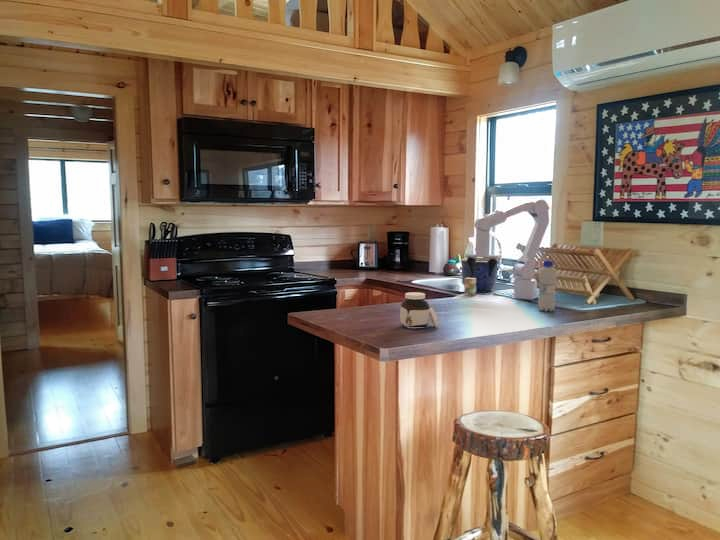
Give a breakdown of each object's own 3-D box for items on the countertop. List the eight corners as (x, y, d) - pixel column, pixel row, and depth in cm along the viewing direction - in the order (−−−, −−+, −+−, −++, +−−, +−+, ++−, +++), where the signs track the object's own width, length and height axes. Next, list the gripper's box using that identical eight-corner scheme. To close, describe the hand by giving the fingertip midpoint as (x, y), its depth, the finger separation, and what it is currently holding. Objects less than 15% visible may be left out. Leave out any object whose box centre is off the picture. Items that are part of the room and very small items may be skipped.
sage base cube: (476, 295, 262) (476, 286, 261) (473, 296, 258) (473, 287, 258) (467, 294, 264) (467, 286, 263) (464, 296, 260) (464, 287, 260)
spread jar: (396, 325, 201) (397, 292, 200) (421, 322, 208) (421, 289, 206) (419, 332, 191) (420, 297, 190) (444, 328, 198) (445, 294, 196)
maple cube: (476, 286, 261) (476, 278, 261) (472, 288, 258) (473, 279, 257) (467, 286, 263) (467, 277, 263) (464, 287, 260) (464, 278, 259)
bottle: (546, 312, 225) (548, 261, 223) (533, 309, 231) (535, 260, 228) (558, 311, 228) (561, 260, 226) (546, 308, 234) (548, 259, 232)
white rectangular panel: (506, 298, 258) (506, 296, 258) (495, 303, 244) (495, 302, 244) (463, 294, 268) (463, 293, 268) (450, 299, 254) (450, 298, 254)
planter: (473, 287, 288) (474, 257, 287) (503, 291, 277) (505, 259, 275) (453, 291, 277) (454, 259, 275) (484, 295, 265) (485, 262, 263)
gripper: (463, 244, 253) (462, 275, 254) (495, 246, 245) (494, 277, 247) (469, 243, 259) (468, 273, 260) (500, 245, 251) (499, 276, 253)
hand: (481, 275), depth 254 cm, fingers open, 7 cm apart
